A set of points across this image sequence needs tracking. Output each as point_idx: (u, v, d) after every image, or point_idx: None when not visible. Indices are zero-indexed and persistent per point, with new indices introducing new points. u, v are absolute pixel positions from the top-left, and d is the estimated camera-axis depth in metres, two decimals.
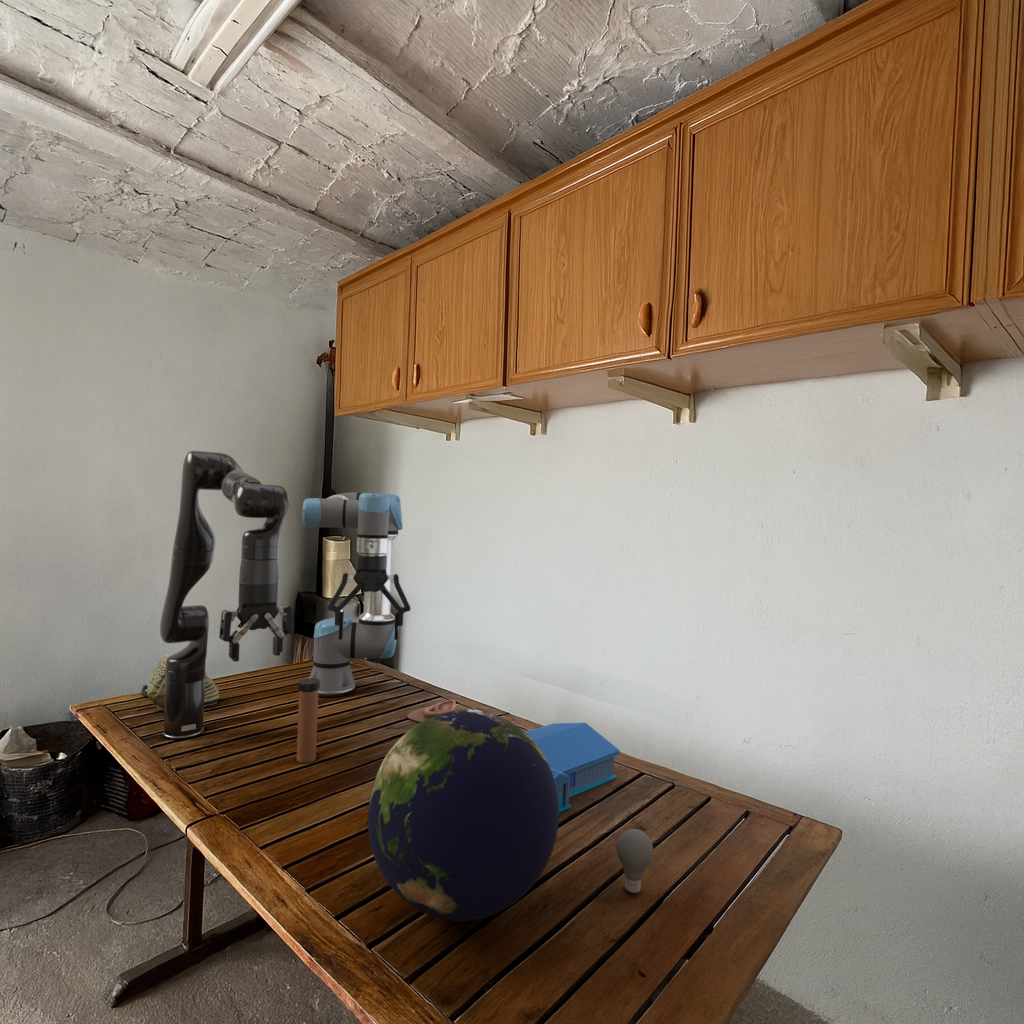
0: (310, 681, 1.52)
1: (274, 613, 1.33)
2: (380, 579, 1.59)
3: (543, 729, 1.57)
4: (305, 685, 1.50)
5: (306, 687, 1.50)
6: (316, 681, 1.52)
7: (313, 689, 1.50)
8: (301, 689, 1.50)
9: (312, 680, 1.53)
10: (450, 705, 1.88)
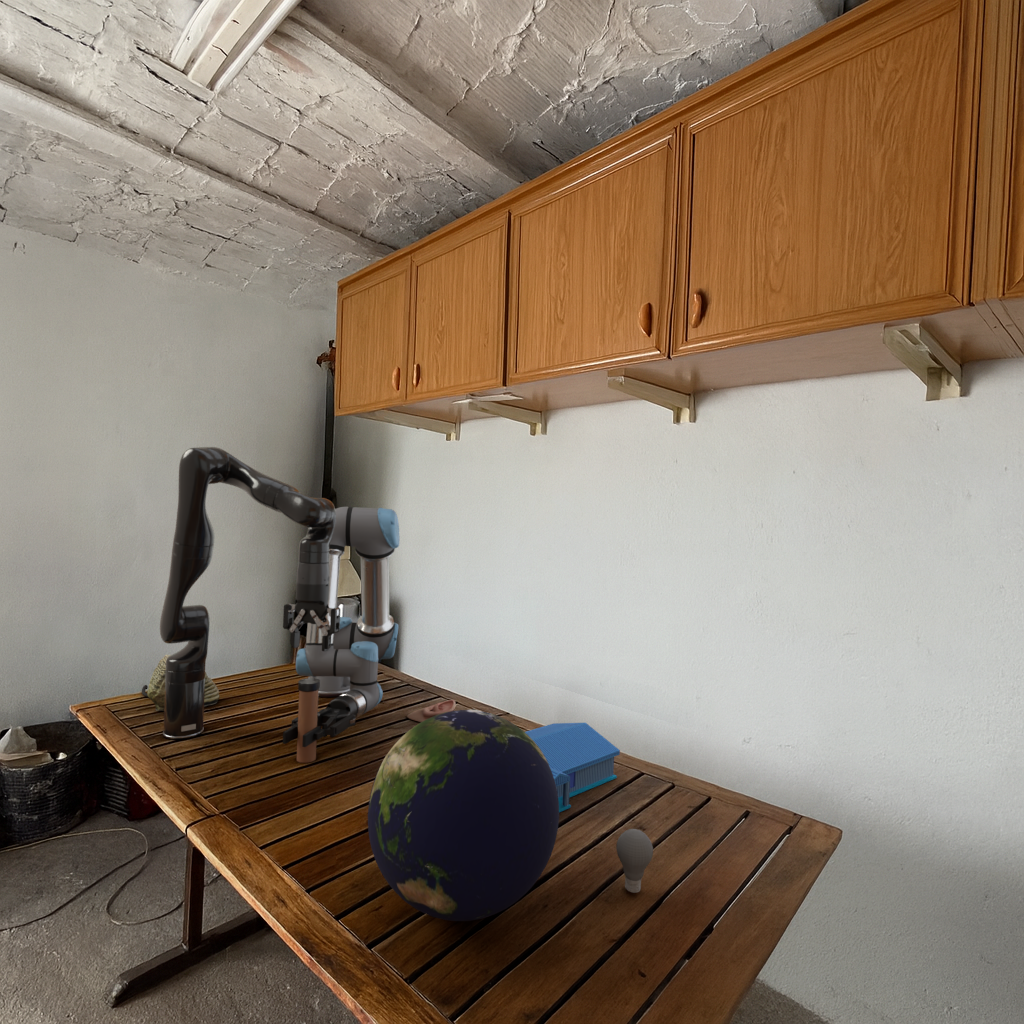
0: (310, 681, 1.52)
1: None
2: None
3: (543, 729, 1.57)
4: (305, 685, 1.50)
5: (306, 687, 1.50)
6: (316, 681, 1.52)
7: (313, 689, 1.50)
8: (301, 689, 1.50)
9: (312, 680, 1.53)
10: (450, 705, 1.88)
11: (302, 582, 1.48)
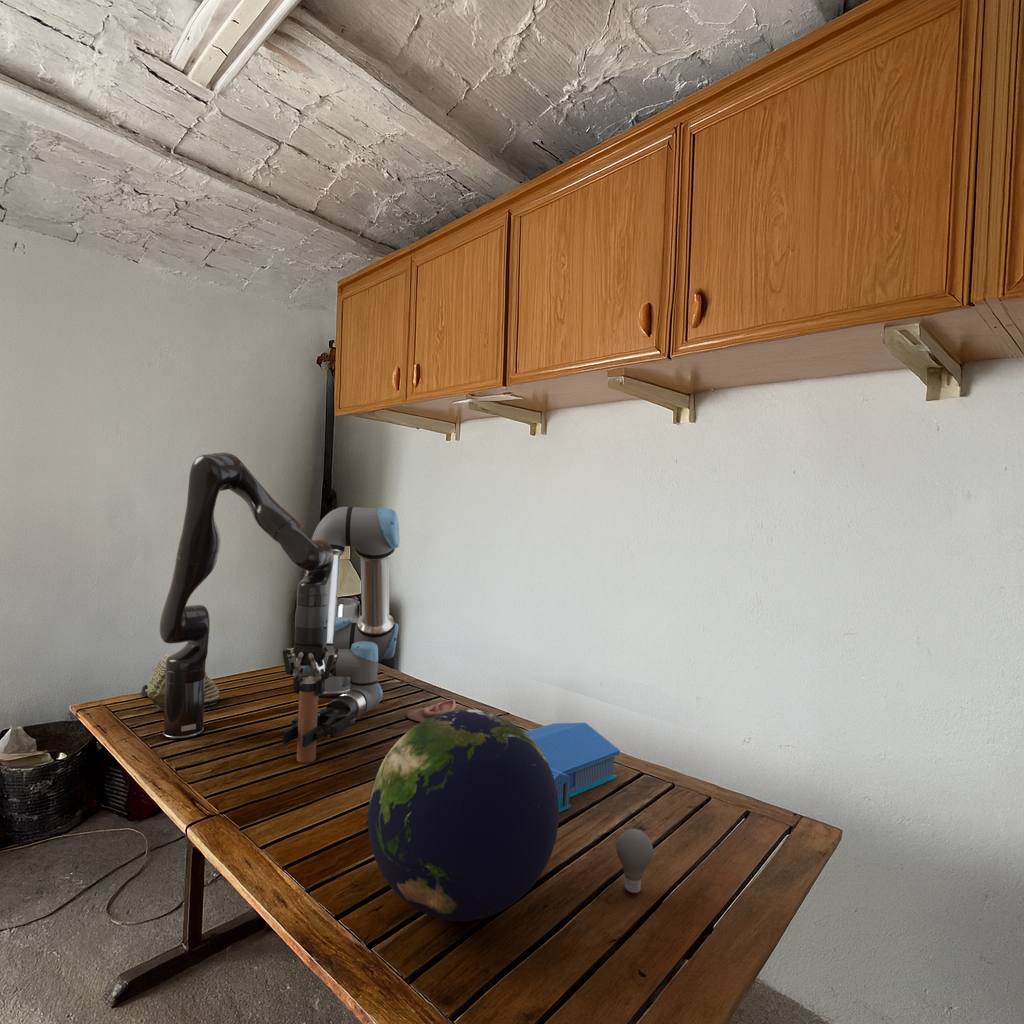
0: (310, 681, 1.52)
1: None
2: None
3: (543, 729, 1.57)
4: (305, 685, 1.50)
5: (306, 687, 1.50)
6: None
7: (313, 689, 1.50)
8: (301, 689, 1.50)
9: (312, 680, 1.53)
10: (450, 705, 1.88)
11: (300, 625, 1.48)
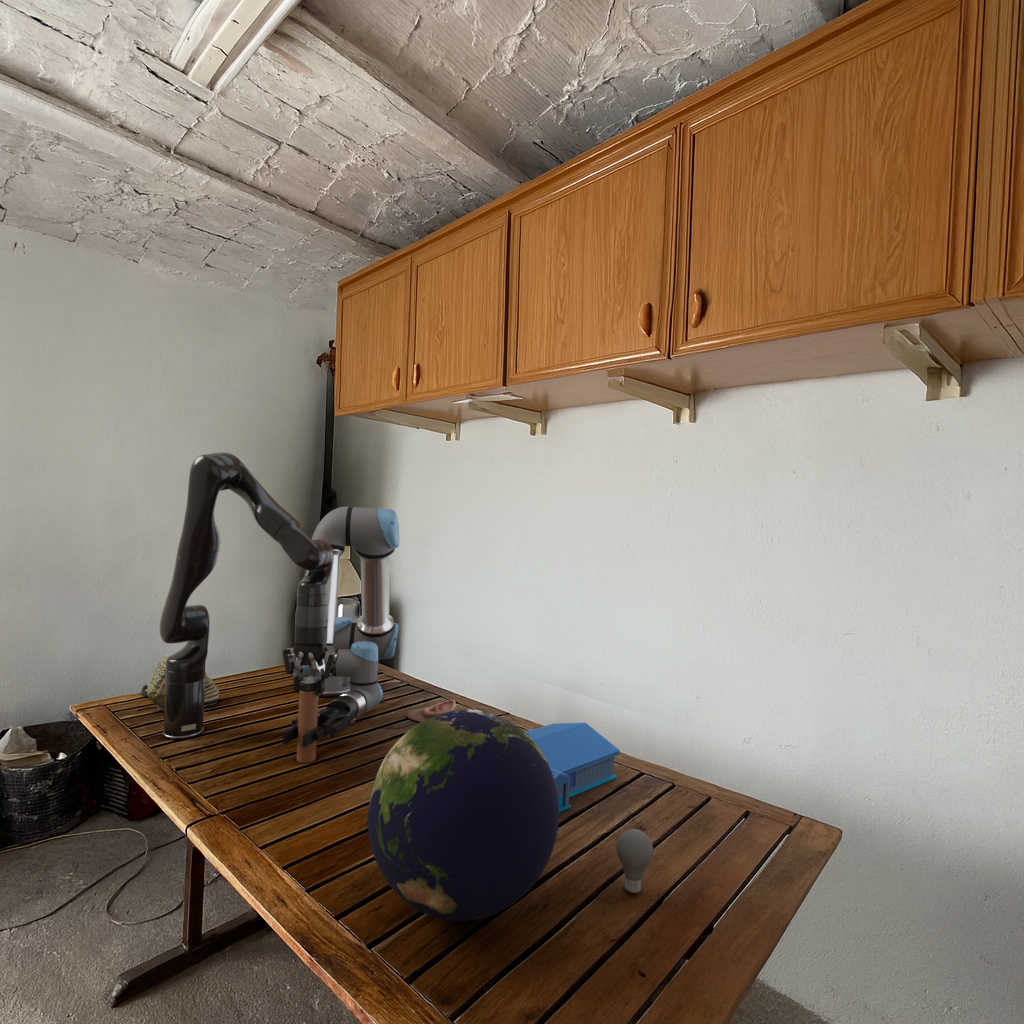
0: (311, 680, 1.52)
1: None
2: None
3: (543, 729, 1.57)
4: None
5: None
6: (313, 678, 1.54)
7: None
8: (315, 688, 1.51)
9: (307, 679, 1.53)
10: (450, 705, 1.88)
11: (300, 625, 1.48)
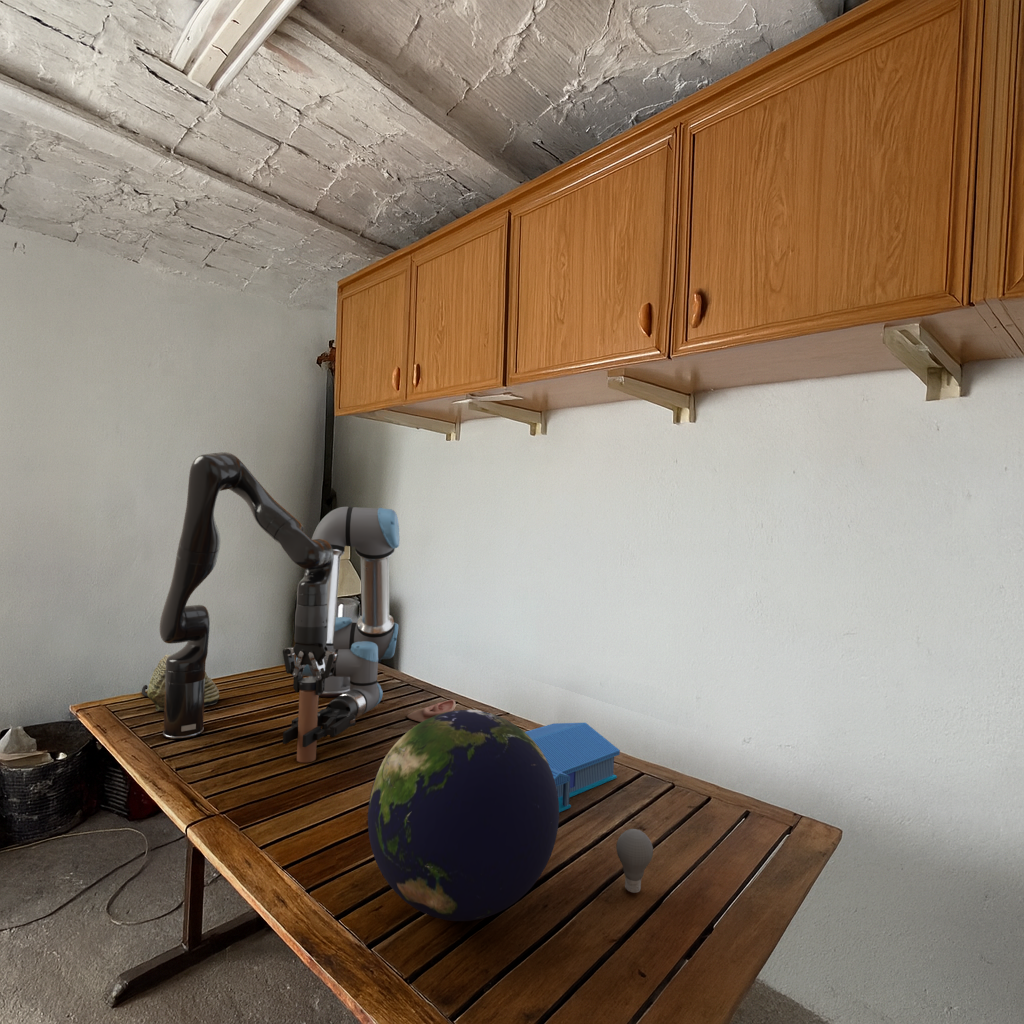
0: (309, 679, 1.53)
1: None
2: None
3: (543, 729, 1.57)
4: None
5: None
6: (303, 678, 1.53)
7: None
8: None
9: (305, 680, 1.51)
10: (450, 705, 1.88)
11: (300, 625, 1.48)
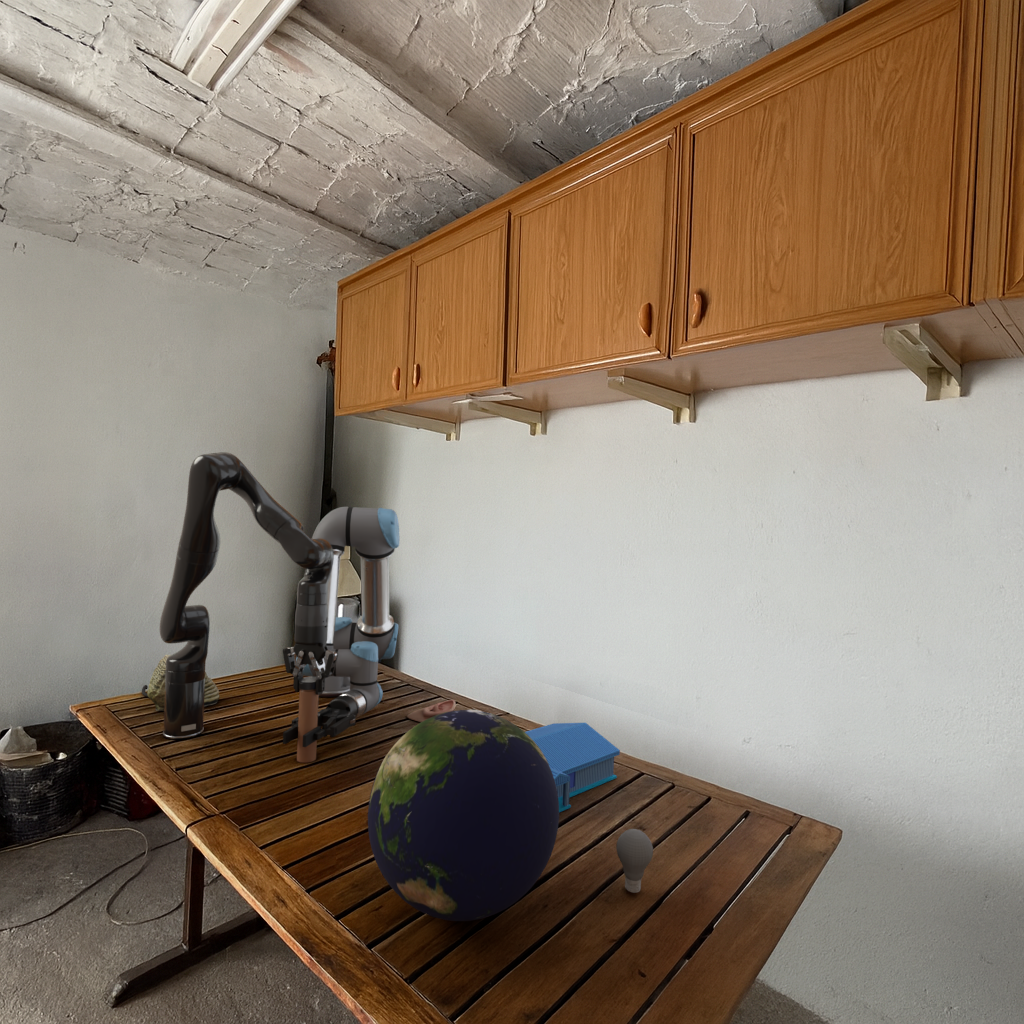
0: (307, 679, 1.52)
1: None
2: None
3: (543, 729, 1.57)
4: None
5: None
6: (303, 681, 1.51)
7: None
8: None
9: (310, 680, 1.51)
10: (450, 705, 1.88)
11: (301, 624, 1.48)
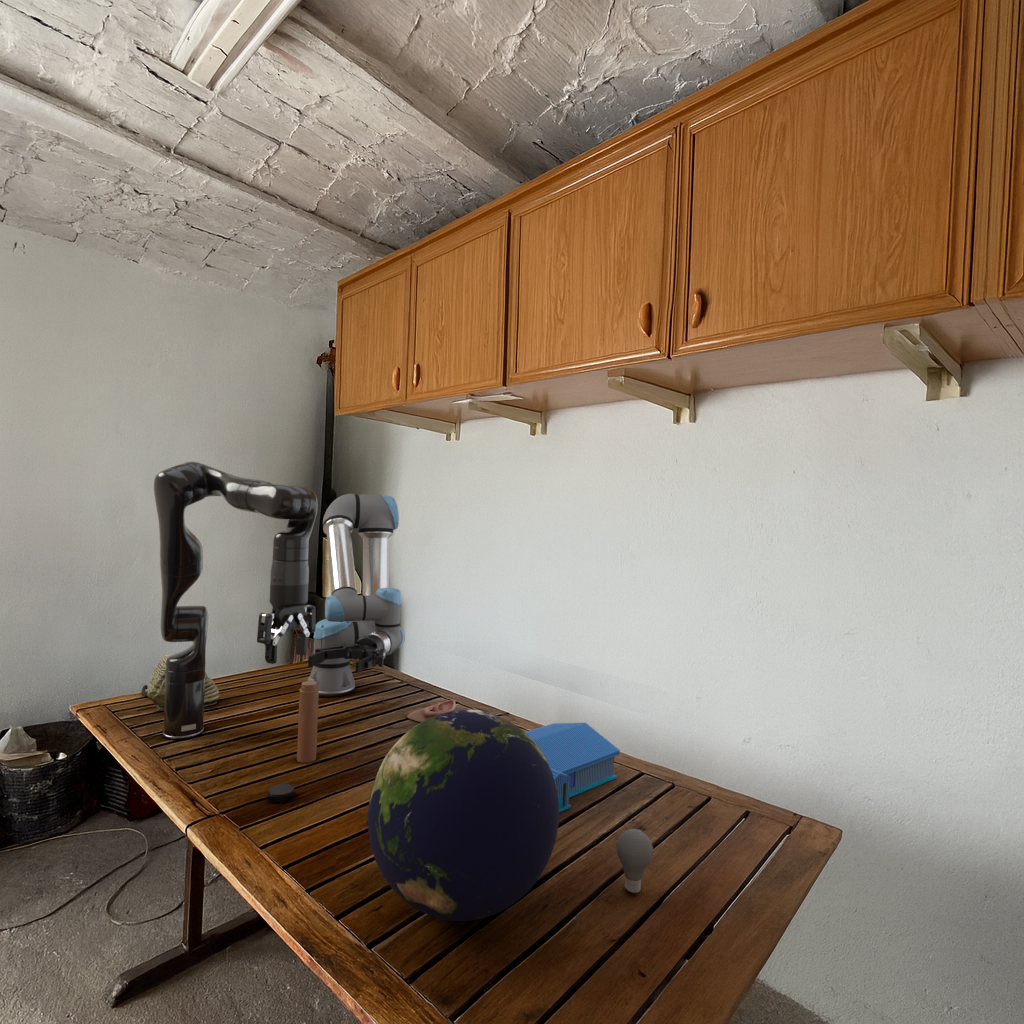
0: (282, 788, 1.33)
1: None
2: None
3: (543, 729, 1.57)
4: (293, 788, 1.34)
5: None
6: (280, 785, 1.34)
7: None
8: (293, 796, 1.33)
9: (276, 788, 1.33)
10: (450, 705, 1.88)
11: (301, 583, 1.30)
